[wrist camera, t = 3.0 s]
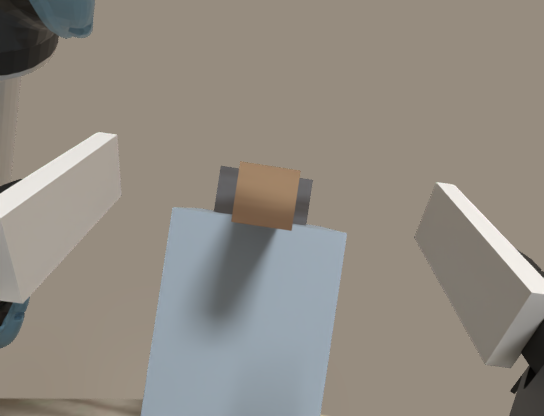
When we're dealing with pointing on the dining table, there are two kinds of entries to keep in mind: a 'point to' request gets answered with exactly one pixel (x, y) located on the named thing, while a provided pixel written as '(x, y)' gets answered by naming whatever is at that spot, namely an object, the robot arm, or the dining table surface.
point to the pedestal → (243, 318)
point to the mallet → (263, 195)
